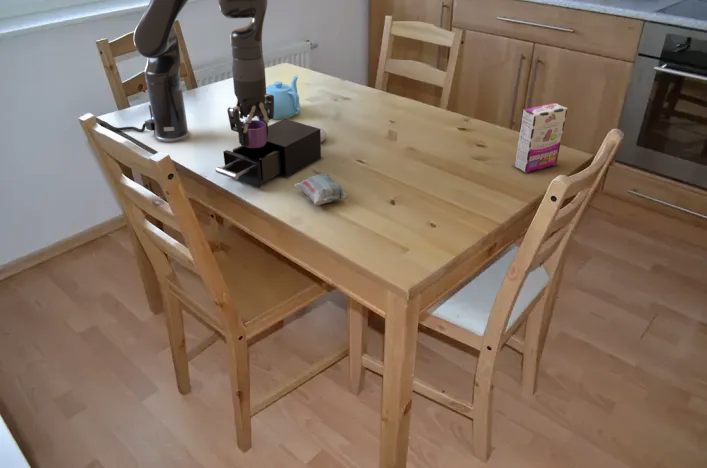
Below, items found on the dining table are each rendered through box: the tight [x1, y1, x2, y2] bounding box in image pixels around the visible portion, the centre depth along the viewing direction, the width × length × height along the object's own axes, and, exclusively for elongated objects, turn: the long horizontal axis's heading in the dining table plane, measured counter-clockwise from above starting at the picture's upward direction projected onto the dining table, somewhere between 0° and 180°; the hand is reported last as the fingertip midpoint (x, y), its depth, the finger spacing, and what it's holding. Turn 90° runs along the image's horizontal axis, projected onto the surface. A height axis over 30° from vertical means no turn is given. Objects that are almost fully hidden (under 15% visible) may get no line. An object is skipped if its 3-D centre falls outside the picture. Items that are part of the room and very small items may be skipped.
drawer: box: [215, 144, 284, 189], centre depth 148 cm, size 19×11×7 cm, turn 145°
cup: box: [242, 119, 267, 148], centre depth 145 cm, size 6×6×5 cm
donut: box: [307, 124, 327, 143], centre depth 171 cm, size 10×4×10 cm
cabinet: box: [266, 118, 322, 178], centre depth 157 cm, size 15×13×9 cm
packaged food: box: [293, 173, 348, 206], centre depth 141 cm, size 9×12×5 cm
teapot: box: [266, 75, 302, 120], centre depth 186 cm, size 15×15×10 cm
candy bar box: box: [514, 102, 569, 174], centre depth 155 cm, size 11×5×16 cm, turn 117°
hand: (254, 141), depth 146 cm, fingers closed on cup, 6 cm apart
